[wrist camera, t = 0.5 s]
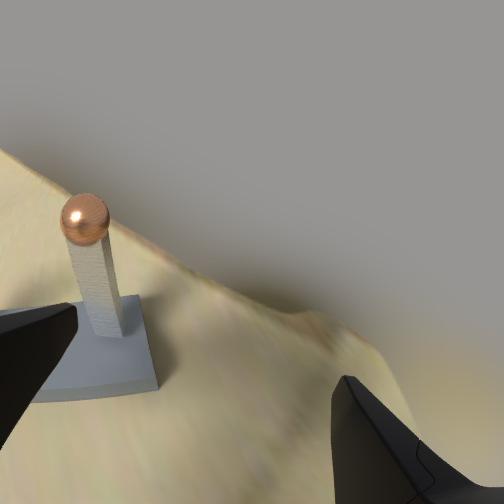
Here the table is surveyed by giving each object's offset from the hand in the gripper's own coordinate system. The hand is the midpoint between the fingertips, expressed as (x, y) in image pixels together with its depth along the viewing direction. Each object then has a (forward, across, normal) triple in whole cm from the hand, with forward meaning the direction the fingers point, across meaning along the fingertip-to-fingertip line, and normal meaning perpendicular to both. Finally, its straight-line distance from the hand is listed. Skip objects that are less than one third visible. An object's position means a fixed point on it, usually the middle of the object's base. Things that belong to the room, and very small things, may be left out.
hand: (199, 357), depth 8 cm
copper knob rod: (+11, +9, +9) cm, 17 cm away
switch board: (+8, +17, +14) cm, 23 cm away
